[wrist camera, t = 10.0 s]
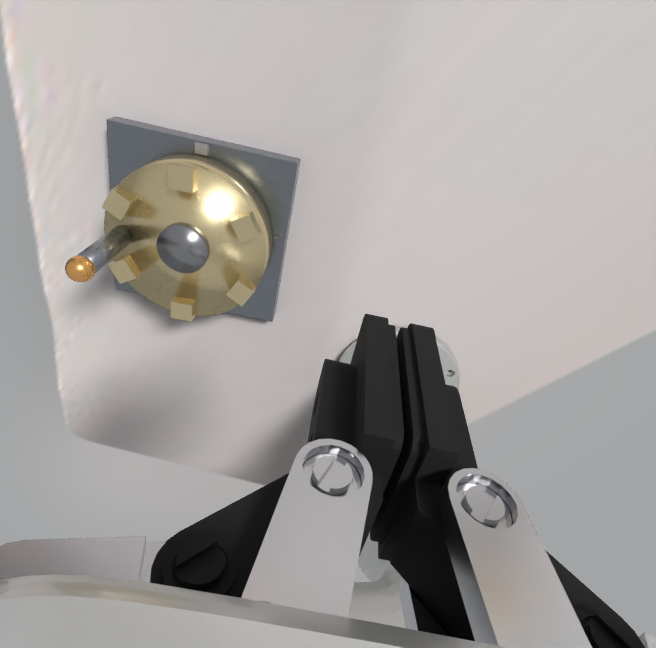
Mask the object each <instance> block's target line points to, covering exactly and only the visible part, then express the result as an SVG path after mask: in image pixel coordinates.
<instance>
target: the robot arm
mask: <svg viewBox="0 0 656 648" xmlns="http://www.w3.org/2000/svg"><path fill="white" fill-rule="evenodd" d="M458 388H459V372H458V367H457V364H456V361H455V359H454V357H453V355H452V354H451V352H450V350H449V349H448V348H447V347H446V346H445V345H444V344H443V343H442V342H440V341H439V340H437V339H436V337H435V332H434V329H433V328H430V327H425V326H420V325H416V324H410V325H409V326H408V328H402V327H401V328H395V326H393V325H388V319H387V318H384V317H379V316H374V315H370V314H365V316H364V318H363V322H362V325H361V328H360V332H359V335H358V339H357V340H356V341H355V342H353V343H352V344H351V345H350V346H349V347H348V348H347V349H346V350H345V352H344V353H343V355H342V356H341V357H340V360H339V362H338V361H333V360H329V359H325V361H324V364H323V368H322V372H321V376H320V380H319V384H318V388H317V393H316V397H315V402H314V407H313V413H312V419H311V425H310V432H309V438H308V444H306V445H305V446H303V447H302V448H301V449H300V451H299V452H298V454H297V455H296V457H295V459H294V462H293V465H292V467H291V470H290V472H289V473H288V474H286V475H285V476H283V477H281V478H279V479H277V480H275V481H273V482H272V483H270V484H268V485H266V486H264V487H262V488H260V489H259V490H257V491H255V492H253V493H251V494H249V495H247V496H245V497H244V498H242V499H240V500H238V501H236V502H234V503H232V504H230V505H228V506H227V507H225V508H223V509H221V510H219V511H217V512H215V513H214V514H212V515H210V516H208V517H206V518H204V519H202V520H200V521H199V522H197V523H195V524H193V525H191V526H189V527H187V528H185V529H184V530H182V531H180V532H178V533H177V534H176V535H174V536H173V537H171V538H170V539H169V540H167V541H158V542H146V537H145V536H130V537H98V538H69V539H40V540H39V539H38V540H21V541H17V542H11V543H6V544H4V545H2V546H0V648H656V637H654V636H652V635H649V634H647V633H645V632H644V633H643V634H642V635H641V636H639V637H638V636H637V634H636V633H635V631H634V630H633V629H632V628H631V627H630V626H629V625H628V624H627V623H626V622H625V621H624V620H623V619H622V618H621V617H620V616H619V615H618V614H617V613H616V612H615V611H613V610H612V609H611V608H610V607H609V606H608V605H607V604H605V603H604V602H603V601H602V600H601V599H600V598H599V597H598V596H596V595H595V594H594V593H593V592H592V591H591V590H590V589H588V588H587V587H586V586H585V585H584V584H583V583H582V582H580V581H579V580H578V579H577V578H576V577H575V576H574V575H573V574H571V572H569V571H568V570H567V569H566V568H565V567H564V566H563V565H562V564H560V563H559V562H558V561H557V560H556V559H555V558H553V556H551V555H550V554H549V553H548V552H547V551H546V550H545V548H544V546H543V544H542V542H541V540H540V538H539V536H538V534H537V531H536V529H535V528H534V525H533V523H532V521H531V519H530V517H529V515H528V513H527V510H526V508H525V506H524V504H523V502H522V501H521V499H520V498H519V496H518V494H517V493H516V492H515V491H514V490H513V489H512V488H511V486H509V484H508V483H506V482H505V481H503V480H502V479H501V478H499V477H498V476H496V475H494V474H492V473H489V472H488V471H485V470H481V469H478V468H477V464H476V460H475V456H474V451H473V447H472V444H471V440H470V435H469V431H468V427H467V423H466V419H465V415H464V411H463V407H462V403H461V399H460V395H459V391H458ZM357 565H359V567H360V568H361V569H362V571H363V572H364V574H365V575H366V577H367V578H368V579H369V581H370V582H359V583H354V580H355V576H356V570H357Z"/></svg>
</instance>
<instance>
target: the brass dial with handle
mask: <svg viewBox="0 0 656 648" xmlns="http://www.w3.org/2000/svg"><path fill="white" fill-rule="evenodd" d="M102 208H104V209H105V210H106V211H105V219H104V230H105V235H104V236H103V237H101V238H100V239H99V240H97V241H96V242H94V243H93V244H92V245H90V246H89V247H88V248H86V249H85V250H84V251H82V252H81V253H80V254H78V255H77V256H74V257H72V258H70V259H69V260H68V261H67V263H66V265H65V271H66V274H67V275H68V277H69V278H70V279H72V280H73V281H76V282H86V281H88V280H90V279H91V278H92V277H93V276H94V274H95V273H96V272H97V271H98V270H99V269H101V268H102V267H103V266H104V265H105V264H106V263H108V262H109V261H110V260H111V259H113V261H112V262H110V263H109V264H108V266H109V268H110V269H111V271H112V273H113V274H114V276H115V277H116V279H117V280H118V282H119V283H120V284H121V283H124V282H127V281H128V282H129V283H130V285H131V286H132V287H133V288H135V289H136V290H137V291H138V292H139V293H140V294H141V295H143V296H144V297H145V298H147V299H148V300H150V301H152V302H153V303H155V304H157V305H159V306H161V307H163V308H165V309H167V310H170V311H171V318H175V319H180V320H186V321H191V322H192V320H193V319H194V317H195V316H210V315H216V314H221V313H224V312H227V311H229V310H232V309H234V308H235V307H237V306H239V305H240V306H243V305H244V303H245V302H246V301H247V300H248V299H249V298H250V296H251V295H252V294H253V293H254V291H255V289H256V288H257V286H258V284H259V282H260V280H261V278H262V276H263V274H264V271H265V269H266V267H267V265H268V262H269V259H270V256H271V251H272V228H271V224H270V219H269V216H268V214H267V211H266V208H265V206H264V204H263V203H262V201H261V199H260V197H259V196H258V194H257V193H256V191H255V190H254V189H253V188H252V187H251V185H250V184H249V183H248V182H247V181H246V180H245V179H244V178H243V177H242V176H240V175H239V174H238V173H237V172H235V171H234V170H232V169H231V168H230V167H228V166H226V165H224V164H222V163H221V162H218V161H216V160H213V159H211V158H208V157H204V156H200V155H194V154H173V155H167V156H164V157H161V158H157V159H155V160H154V161H152V162H150V163H148V164H146V165H144V166H142V167H141V168H139V169H137V170H135V171H134V172H132V173H131V174H129V175H128V176H127V177H125V178H124V179H123V180H122V181H121V182H120V183H119V184H118V185H117V186H116V187H114V188H113V189H112V190H111V191H110V193H109V195H108V197H107V199H106V200H105V202H104V204H103V206H102Z"/></svg>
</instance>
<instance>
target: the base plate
mask: <svg viewBox="0 0 656 648" xmlns="http://www.w3.org/2000/svg"><path fill="white" fill-rule="evenodd" d="M107 137H108V155H109V174H110V191H111V190H112V189H113V188H114V187H116V186H117V185H118V184H119V183H120V182H121V181H122V180H123V179H124V178H125V177H127V176H128V175H129V174H131V173H132V172H134V171H135V170H137V169H139V168H141V167H142V166H144V165H146V164H148V163H150V162H152V161H154V160H155V159H157V158H161V157H164V156H167V155H173V154H194V155H200V156H204V157H208V158H211V159H213V160H216V161H218V162H221V163H222V164H224V165H226V166H228V167H230V168H231V169H232V170H234V171H235V172H237V173H238V174H239V175H240V176H242V177H243V178H244V179H245V180H246V181H247V182H248V183H249V184H250V185H251V187H252V188H253V189H254V190H255V191H256V193H257V194H258V196H259V197H260V199H261V201H262V203H263V204H264V206H265V208H266V211H267V214H268V216H269V219H270V224H271V228H272V251H271V256H270V259H269V262H268V265H267V267H266V269H265V271H264V274H263V276H262V278H261V280H260V282H259V284H258V286H257V288H256V289H255V291H254V293H253V294H252V295H251V296H250V298H249V299H248V300H247V301H246V302H245V303H244V305H243V306H240V305H239V306H237V307H235V308H234V309H232V310H229V311H227V312H228V313H233V314H238V315H242V316H247V317H252V318H256V319H261V320H266V321H270V322H272V321H273V318H274V315H275V311H276V305H277V299H278V293H279V287H280V281H281V274H282V268H283V262H284V256H285V250H286V244H287V238H288V232H289V226H290V220H291V214H292V207H293V201H294V195H295V189H296V183H297V177H298V171H299V165H300V159H299V158H294V157H290V156H285V155H281V154H277V153H272V152H268V151H264V150H259V149H255V148H250V147H246V146H242V145H237V144H233V143H229V142H224V141H220V140H215V139H211V138H207V137H202V136H198V135H194V134H189V133H185V132H181V131H176V130H172V129H167V128H163V127H159V126H154V125H150V124H146V123H141V122H137V121H132V120H128V119H124V118H119V117H113V118H110V119H107ZM115 284H116V289H121V290H125V291H130V292H135V293H139V292H138V291H137V290H136V289H135V288H133V287H132V286H131V285H130V283H129V282H128V281H127V282H124V283H121V284H120V283H119V282H118V280H117V279H116V277H115Z"/></svg>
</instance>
